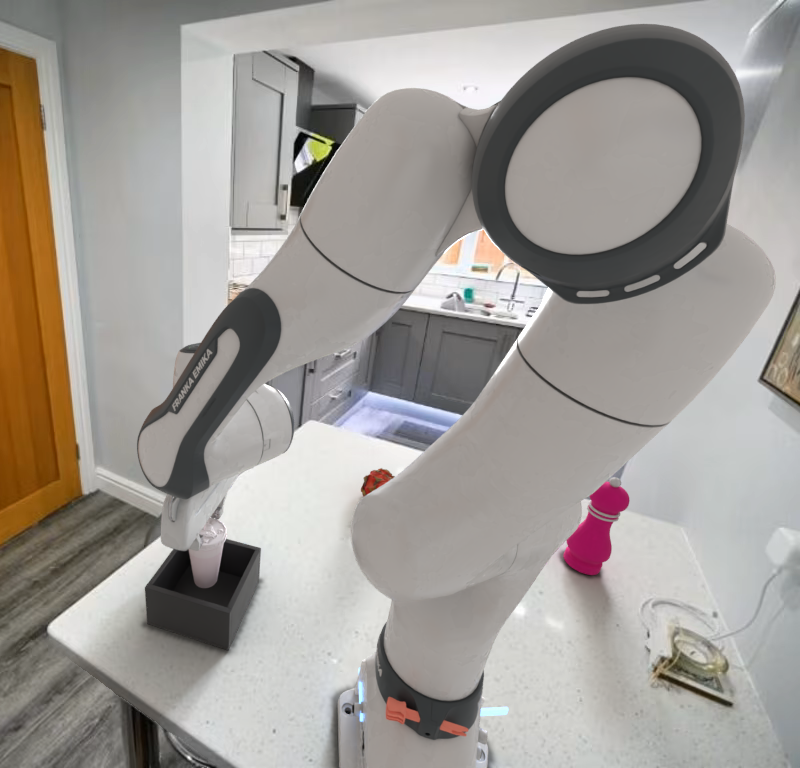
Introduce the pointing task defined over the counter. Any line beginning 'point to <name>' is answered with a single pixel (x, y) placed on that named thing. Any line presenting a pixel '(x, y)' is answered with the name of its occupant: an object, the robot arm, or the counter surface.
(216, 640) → the basket
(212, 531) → the smoothie
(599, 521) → the pepper mill
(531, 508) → the robot arm
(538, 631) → the counter surface
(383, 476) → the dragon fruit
